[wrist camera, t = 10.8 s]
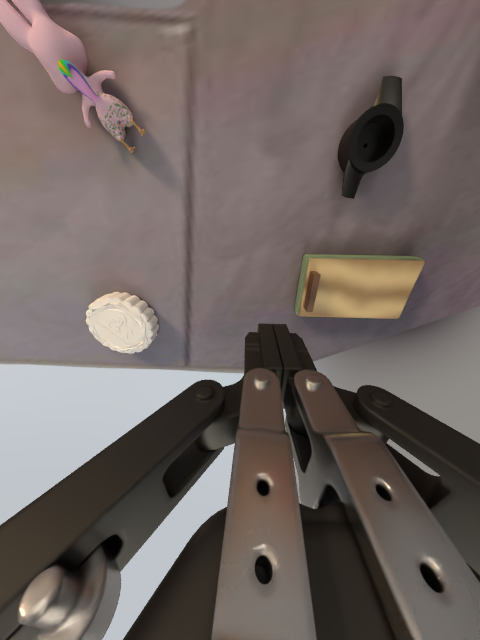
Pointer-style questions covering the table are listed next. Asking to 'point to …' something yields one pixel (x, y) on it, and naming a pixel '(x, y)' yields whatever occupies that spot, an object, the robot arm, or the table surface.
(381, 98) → the black wing nut
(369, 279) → the slide lid
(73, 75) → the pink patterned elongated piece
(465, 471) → the robot arm
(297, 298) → the sliding lid box
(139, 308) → the mooncake
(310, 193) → the table surface
